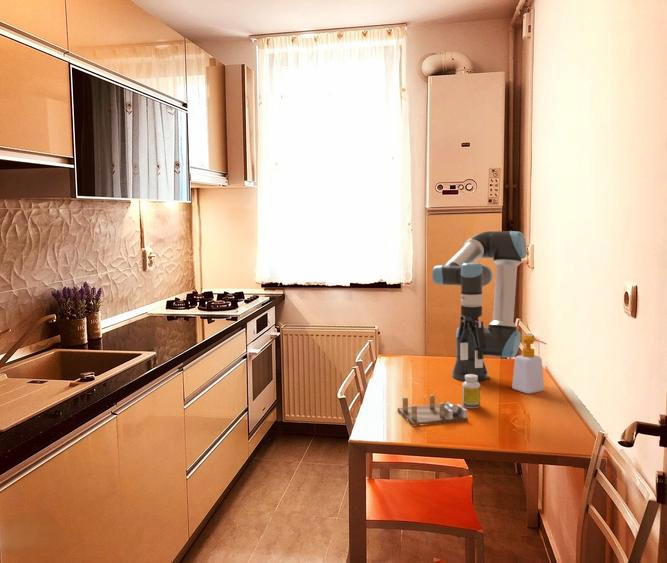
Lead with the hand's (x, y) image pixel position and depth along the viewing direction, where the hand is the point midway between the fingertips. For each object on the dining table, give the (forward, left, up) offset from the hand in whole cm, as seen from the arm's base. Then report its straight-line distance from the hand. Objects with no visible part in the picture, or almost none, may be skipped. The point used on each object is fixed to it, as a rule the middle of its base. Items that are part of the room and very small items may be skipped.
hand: (471, 363), depth 211 cm
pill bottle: (0, 0, -16) cm, 16 cm away
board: (+6, -18, -16) cm, 25 cm away
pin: (+9, -11, -15) cm, 21 cm away
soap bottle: (-10, +31, -16) cm, 36 cm away
